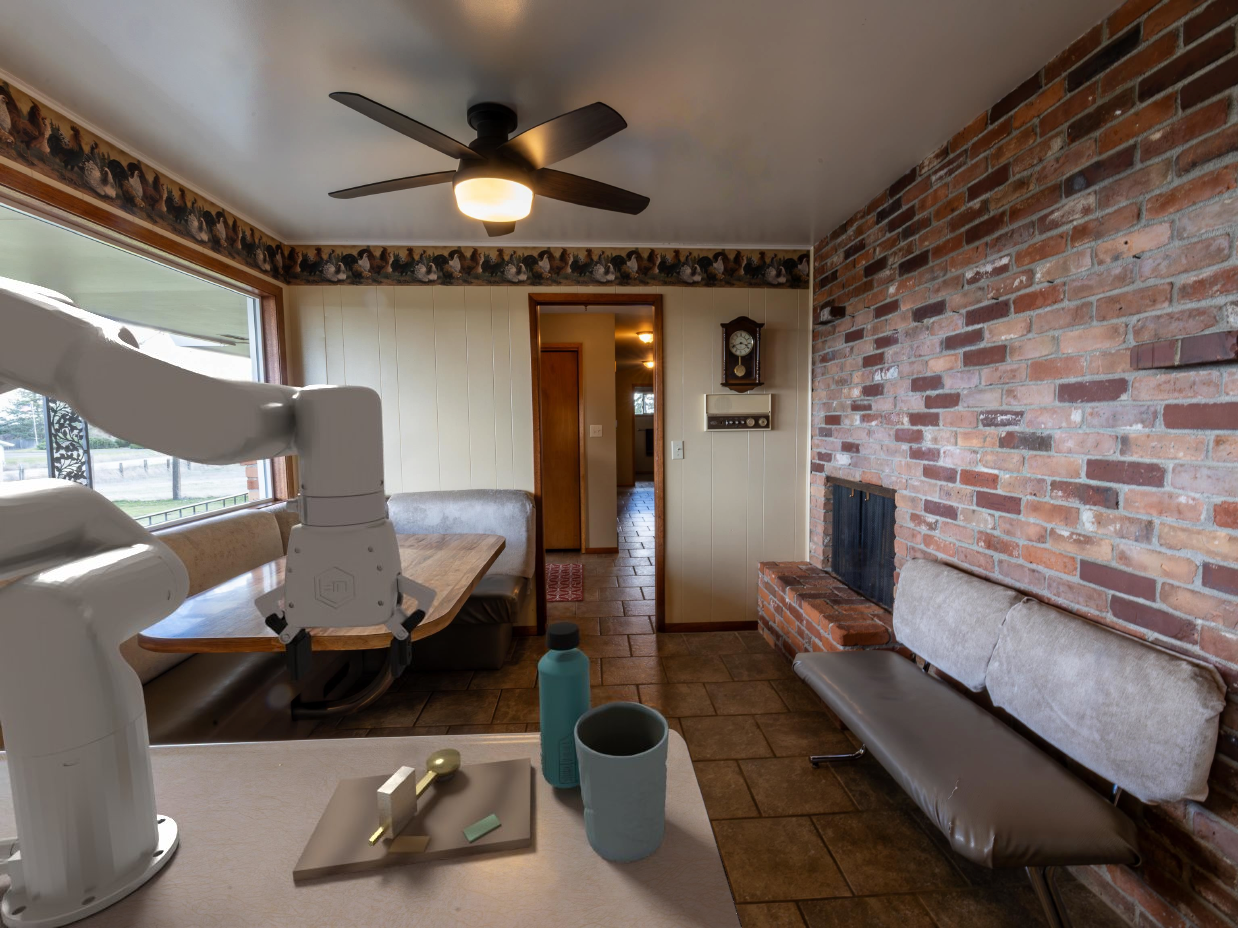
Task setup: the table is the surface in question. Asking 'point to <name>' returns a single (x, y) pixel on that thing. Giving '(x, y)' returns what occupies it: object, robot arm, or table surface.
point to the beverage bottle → (562, 703)
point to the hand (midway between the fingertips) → (351, 673)
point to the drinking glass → (623, 778)
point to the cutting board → (423, 821)
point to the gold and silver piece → (409, 792)
